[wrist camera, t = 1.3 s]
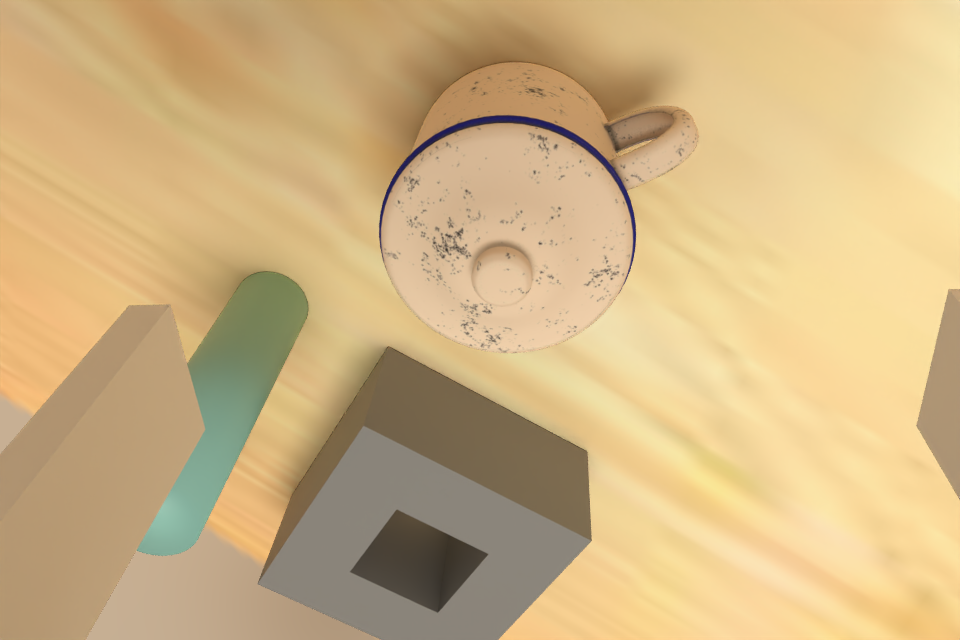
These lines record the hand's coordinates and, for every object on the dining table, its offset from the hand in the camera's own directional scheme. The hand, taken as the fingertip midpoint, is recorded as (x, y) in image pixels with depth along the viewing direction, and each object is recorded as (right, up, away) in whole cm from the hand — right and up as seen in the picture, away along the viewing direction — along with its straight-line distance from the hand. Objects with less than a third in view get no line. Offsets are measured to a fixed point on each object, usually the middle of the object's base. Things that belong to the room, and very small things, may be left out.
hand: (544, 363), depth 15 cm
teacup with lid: (+2, +8, +23) cm, 24 cm away
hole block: (-4, -8, +32) cm, 33 cm away
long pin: (-11, +2, +28) cm, 30 cm away
